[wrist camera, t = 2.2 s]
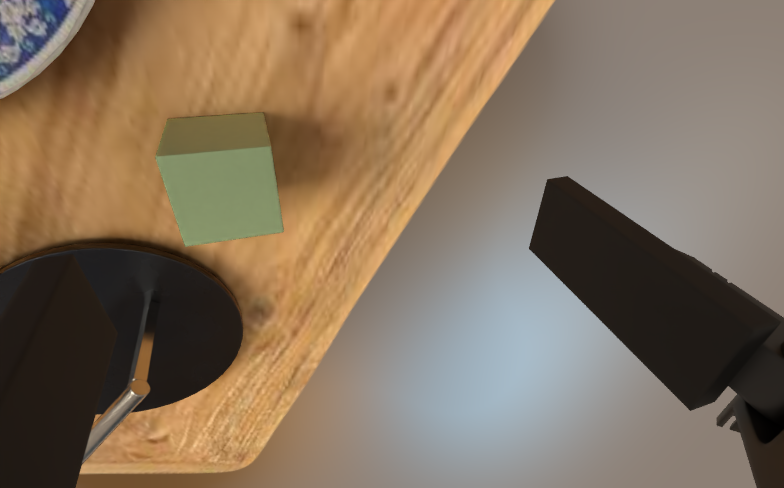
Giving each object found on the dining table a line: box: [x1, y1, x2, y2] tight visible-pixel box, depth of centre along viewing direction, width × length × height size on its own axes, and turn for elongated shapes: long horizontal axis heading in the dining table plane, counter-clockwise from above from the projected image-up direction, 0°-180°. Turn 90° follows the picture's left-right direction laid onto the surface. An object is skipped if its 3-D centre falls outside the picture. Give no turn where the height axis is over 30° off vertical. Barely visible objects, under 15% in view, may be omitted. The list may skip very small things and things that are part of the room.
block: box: [155, 112, 284, 247], centre depth 22 cm, size 5×5×5 cm
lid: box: [0, 243, 243, 464], centre depth 25 cm, size 16×16×8 cm
